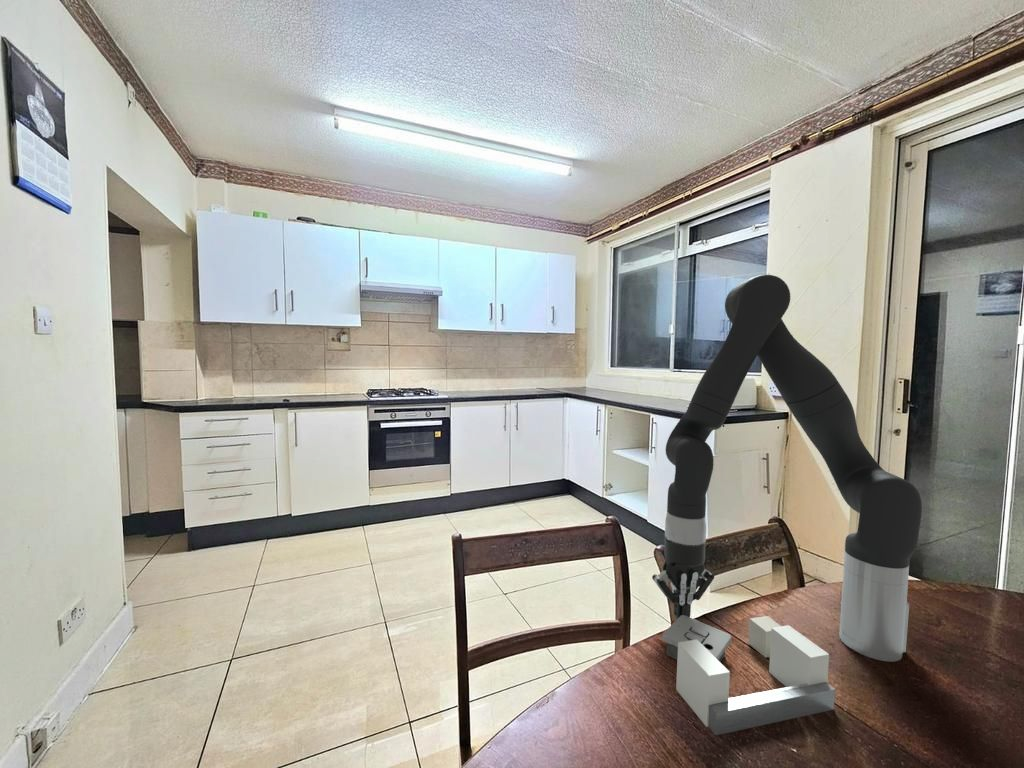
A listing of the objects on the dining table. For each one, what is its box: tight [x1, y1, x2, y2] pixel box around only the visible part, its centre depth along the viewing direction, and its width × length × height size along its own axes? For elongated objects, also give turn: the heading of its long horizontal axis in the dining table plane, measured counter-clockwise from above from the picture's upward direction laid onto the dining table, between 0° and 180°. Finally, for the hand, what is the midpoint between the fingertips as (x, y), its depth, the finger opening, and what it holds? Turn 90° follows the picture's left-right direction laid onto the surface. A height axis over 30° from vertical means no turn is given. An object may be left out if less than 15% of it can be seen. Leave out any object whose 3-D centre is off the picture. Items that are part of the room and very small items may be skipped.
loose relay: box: [748, 615, 782, 658], centre depth 81 cm, size 4×4×5 cm
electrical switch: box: [661, 615, 732, 663], centre depth 79 cm, size 9×5×9 cm
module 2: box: [768, 624, 830, 687], centre depth 72 cm, size 4×8×8 cm, turn 13°
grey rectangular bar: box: [707, 681, 836, 736], centre depth 65 cm, size 21×2×4 cm, turn 103°
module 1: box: [675, 639, 731, 728], centre depth 67 cm, size 4×8×8 cm, turn 13°
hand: (681, 619), depth 87 cm, fingers closed
